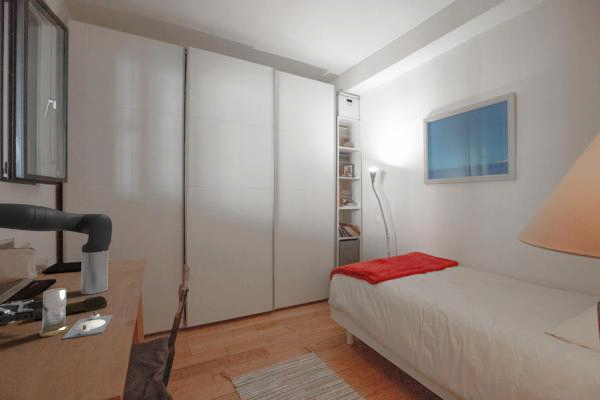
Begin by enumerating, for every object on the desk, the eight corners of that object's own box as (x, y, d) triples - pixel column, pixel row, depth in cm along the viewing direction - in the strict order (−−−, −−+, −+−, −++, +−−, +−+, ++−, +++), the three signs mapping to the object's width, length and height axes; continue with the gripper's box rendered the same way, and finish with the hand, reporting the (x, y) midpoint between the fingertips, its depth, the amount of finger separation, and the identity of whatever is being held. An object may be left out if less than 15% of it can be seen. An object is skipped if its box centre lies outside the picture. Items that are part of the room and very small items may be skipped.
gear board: (78, 320, 84) (79, 312, 85) (112, 315, 88) (112, 308, 88) (62, 339, 73) (62, 330, 73) (102, 333, 76) (102, 324, 76)
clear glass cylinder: (45, 329, 78) (46, 288, 79) (70, 325, 81) (71, 286, 81) (35, 338, 73) (36, 295, 73) (62, 334, 75) (64, 292, 76)
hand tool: (31, 323, 83) (32, 308, 83) (35, 318, 86) (35, 304, 86) (106, 310, 93) (106, 297, 94) (106, 306, 97) (107, 294, 97)
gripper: (-61, 314, 63) (30, 303, 70) (-19, 295, 76) (53, 288, 83) (-62, 345, 63) (29, 332, 69) (-20, 321, 76) (53, 312, 82)
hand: (42, 308), depth 76 cm, fingers open, 8 cm apart
